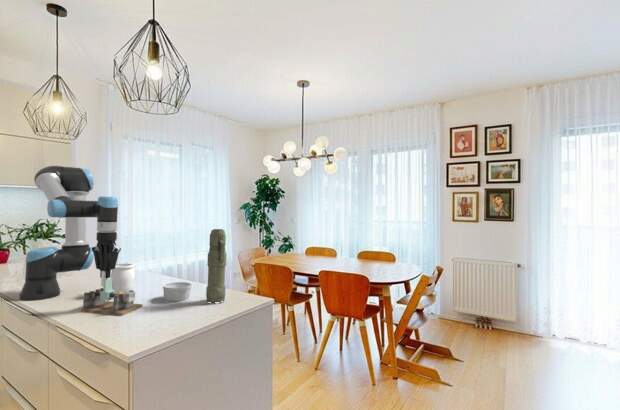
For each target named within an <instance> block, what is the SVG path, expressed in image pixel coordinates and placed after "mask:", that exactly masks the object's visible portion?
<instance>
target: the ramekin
mask: <svg viewBox="0 0 620 410" xmlns="http://www.w3.org/2000/svg"><path fill="white" fill-rule="evenodd" d="M192 286H193V284H192V283H191V282H187V281H174V282H168V283H164V284H163V285H162V289H163V299H165V301H166V302H171V303H172V302H175V303H176V302H183V301H186V299H187V300H188V299H189V298H190V296H191V289H192Z"/></svg>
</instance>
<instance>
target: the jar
mask: <svg viewBox="0 0 620 410" xmlns="http://www.w3.org/2000/svg"><path fill="white" fill-rule="evenodd" d="M135 267H136V265H135V264H134V263H116V266H115V269H112V270H111V273H110V279H112V290H115V294H117V293H118V292H123V293H124V292H129V290H133V286H134V281H135V275H136V274H135V269H134V268H135Z"/></svg>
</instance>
